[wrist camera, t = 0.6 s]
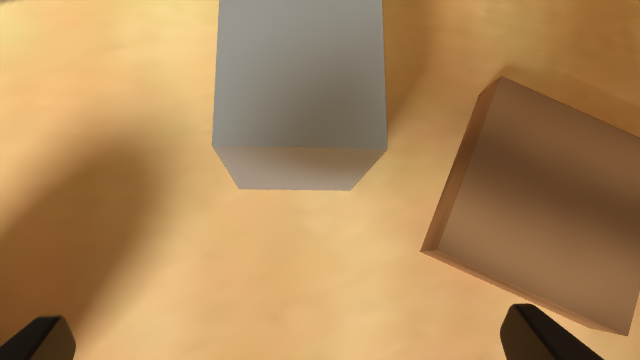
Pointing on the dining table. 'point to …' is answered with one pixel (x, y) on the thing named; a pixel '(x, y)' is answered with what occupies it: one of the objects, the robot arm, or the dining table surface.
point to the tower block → (299, 92)
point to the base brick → (545, 207)
